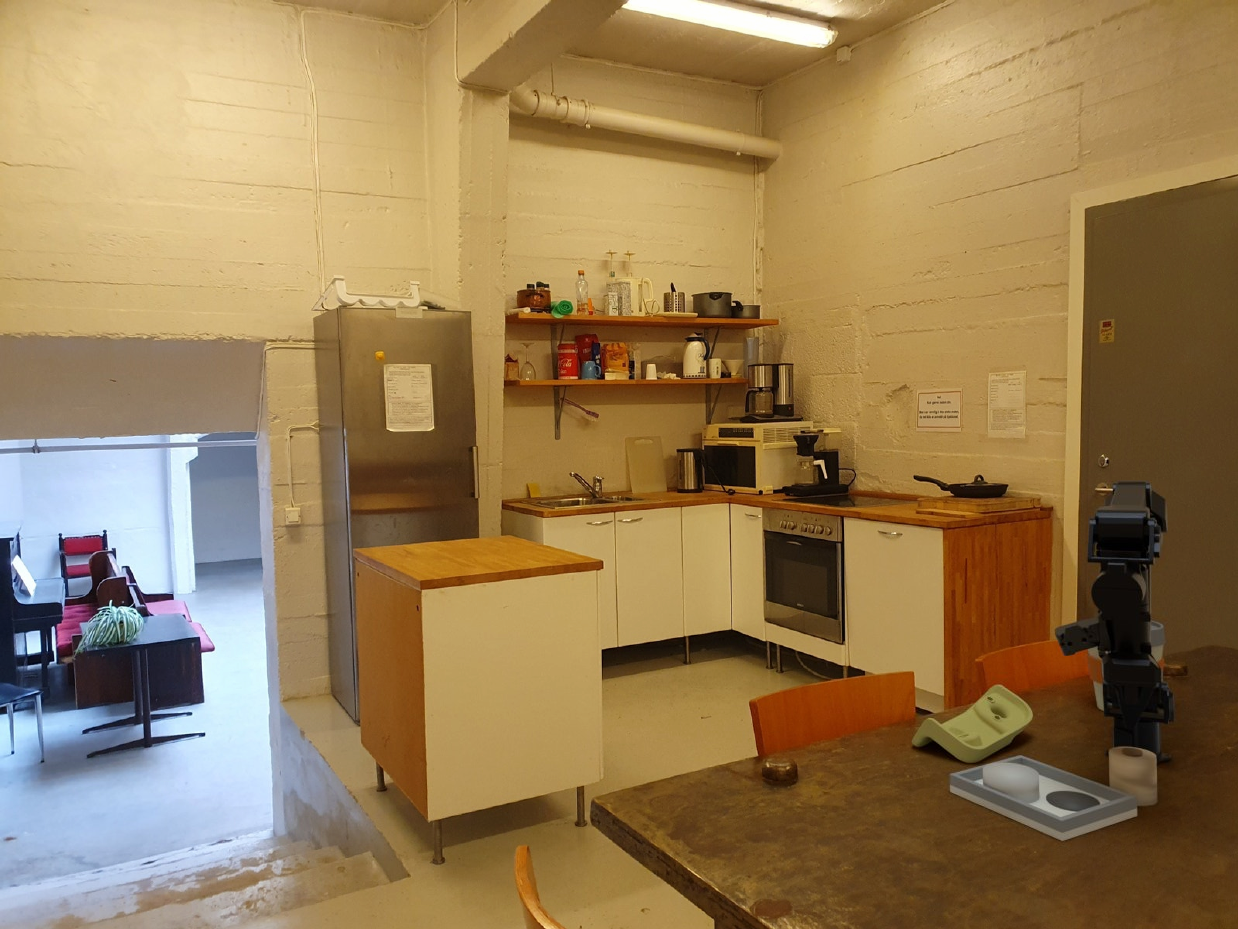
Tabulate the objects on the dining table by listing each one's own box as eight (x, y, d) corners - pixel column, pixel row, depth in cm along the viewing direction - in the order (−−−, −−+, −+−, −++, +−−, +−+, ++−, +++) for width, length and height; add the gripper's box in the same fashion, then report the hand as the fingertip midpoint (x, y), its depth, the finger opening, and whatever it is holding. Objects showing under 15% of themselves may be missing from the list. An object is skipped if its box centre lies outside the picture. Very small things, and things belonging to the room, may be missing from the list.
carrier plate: (1021, 772, 134) (1020, 745, 134) (1137, 816, 117) (1136, 785, 117) (950, 791, 128) (949, 763, 127) (1062, 841, 111) (1061, 808, 111)
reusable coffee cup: (1183, 718, 154) (1181, 630, 154) (1108, 721, 154) (1106, 633, 154) (1141, 696, 167) (1139, 615, 166) (1072, 699, 167) (1070, 618, 166)
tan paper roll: (1127, 786, 127) (1126, 741, 127) (1166, 800, 122) (1165, 753, 122) (1100, 795, 125) (1099, 748, 124) (1139, 809, 119) (1138, 761, 119)
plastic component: (975, 753, 136) (921, 711, 143) (959, 790, 139) (906, 747, 146) (1044, 714, 148) (991, 678, 154) (1028, 749, 151) (976, 711, 158)
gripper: (1056, 587, 134) (1059, 692, 135) (1058, 614, 117) (1061, 733, 118) (1143, 590, 130) (1146, 698, 130) (1158, 618, 113) (1161, 742, 113)
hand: (1127, 717), depth 123 cm, fingers open, 9 cm apart
